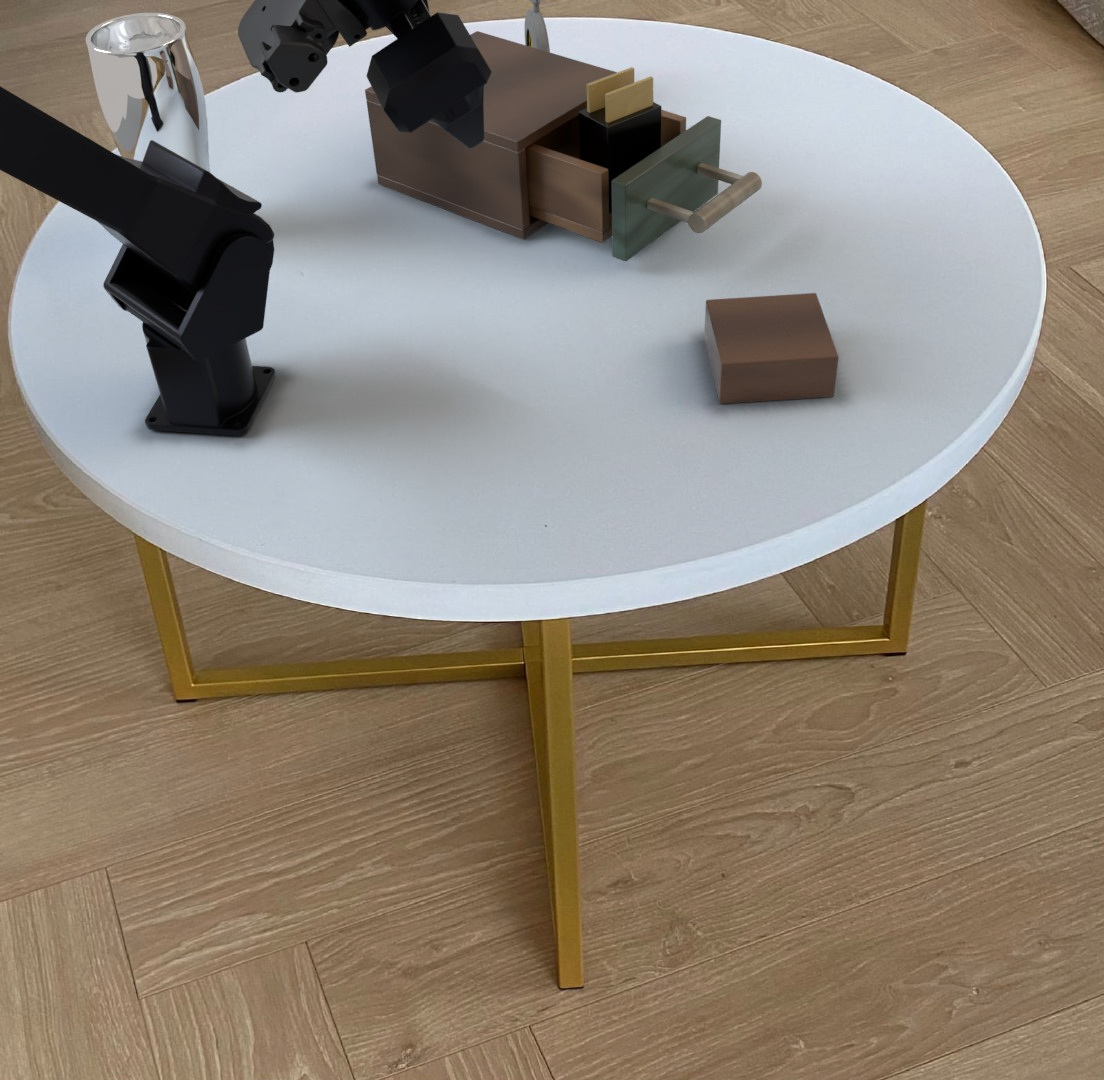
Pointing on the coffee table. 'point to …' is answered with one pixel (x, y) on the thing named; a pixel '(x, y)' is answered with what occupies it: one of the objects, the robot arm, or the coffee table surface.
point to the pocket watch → (536, 29)
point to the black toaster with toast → (619, 123)
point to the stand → (770, 348)
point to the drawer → (635, 186)
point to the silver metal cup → (150, 86)
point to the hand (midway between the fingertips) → (452, 100)
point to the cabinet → (486, 137)
